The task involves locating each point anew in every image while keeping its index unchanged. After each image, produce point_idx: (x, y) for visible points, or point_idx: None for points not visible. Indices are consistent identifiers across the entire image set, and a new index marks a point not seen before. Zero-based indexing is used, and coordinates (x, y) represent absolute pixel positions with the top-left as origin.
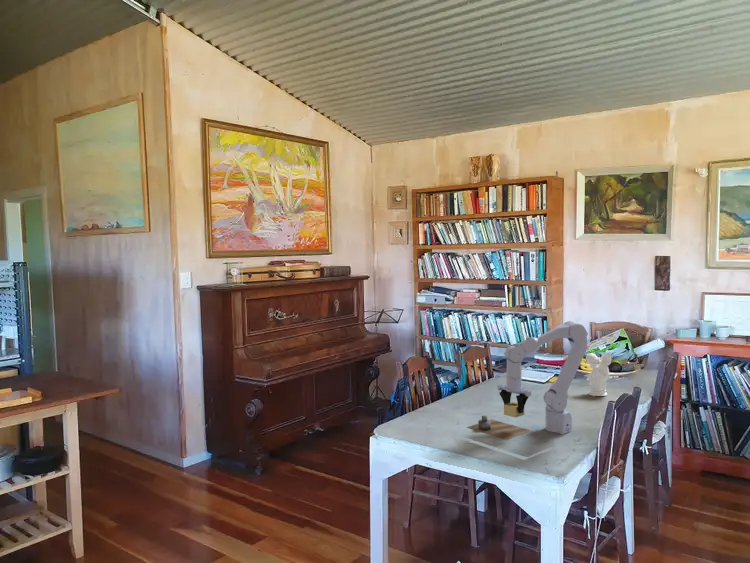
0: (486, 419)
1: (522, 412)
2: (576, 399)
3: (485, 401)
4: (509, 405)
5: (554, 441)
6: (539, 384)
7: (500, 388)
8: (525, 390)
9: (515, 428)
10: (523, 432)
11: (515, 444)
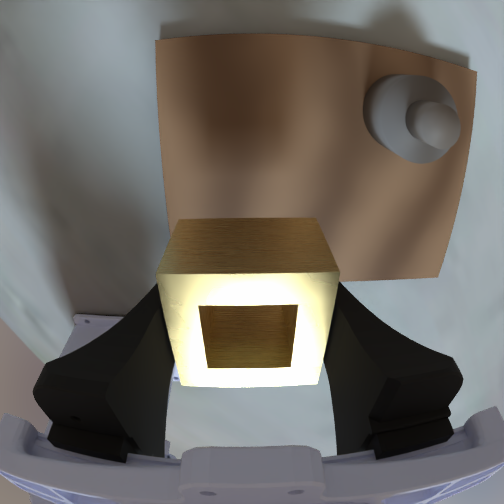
0: (414, 117)
1: None
2: None
3: (491, 390)
4: (263, 287)
5: (46, 252)
6: None
7: (472, 440)
8: (48, 495)
9: None
10: None
11: (107, 57)
